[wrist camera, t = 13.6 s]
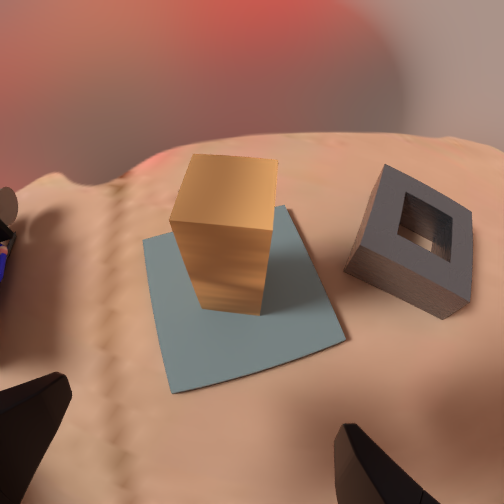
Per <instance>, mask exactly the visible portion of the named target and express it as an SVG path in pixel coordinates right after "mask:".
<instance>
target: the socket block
mask: <svg viewBox="0 0 504 504" xmlns="http://www.w3.org/2000/svg"><path fill="white" fill-rule="evenodd" d="M399 224H400V225H402V226H404V227H406V228H408V229H410V230H412V231H414V232H416V233H417V234H419V235H421V236H423V237H425V238H427V239H429V240H430V241H432V251H431V252H430V251H428V250H426V249H424V248H422V247H420V246H419V245H417V244H415V243H413V242H411V241H409V240H407V239H405V238H403V237H401V236H399V235H397V232H398V227H399ZM472 261H473V232H472V212H471V211H469V210H468V209H466V208H465V207H463V206H461V205H460V204H458V203H457V202H455V201H453V200H452V199H450V198H448V197H447V196H445V195H443V194H441V193H440V192H438V191H436V190H434V189H433V188H431V187H429V186H427V185H425V184H424V183H422V182H420V181H418V180H416V179H414V178H412V177H410V176H408V175H406V174H404V173H402V172H400V171H398V170H396V169H394V168H392V167H390V166H388V165H386V164H384V167H383V169H382V171H381V173H380V175H379V177H378V180H377V182H376V184H375V186H374V188H373V190H372V192H371V196H370V199H369V202H368V205H367V208H366V211H365V214H364V217H363V220H362V223H361V225H360V228H359V231H358V234H357V237H356V240H355V242H354V245H353V248H352V250H351V253H350V256H349V258H348V261H347V263H346V266H345V269H344V272H346V273H348V274H350V275H352V276H354V277H357V278H359V279H361V280H363V281H365V282H367V283H369V284H371V285H373V286H375V287H377V288H379V289H381V290H383V291H385V292H387V293H390V294H392V295H394V296H396V297H398V298H400V299H402V300H404V301H406V302H408V303H410V304H412V305H414V306H416V307H418V308H420V309H422V310H424V311H426V312H428V313H430V314H432V315H434V316H436V317H438V318H440V319H442V320H443V319H445V318H446V317H448V316H450V315H451V314H453V313H454V312H456V311H457V310H459V309H460V308H462V307H463V306H465V305H466V304H468V303H469V302H470V296H471V283H472Z"/></svg>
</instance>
